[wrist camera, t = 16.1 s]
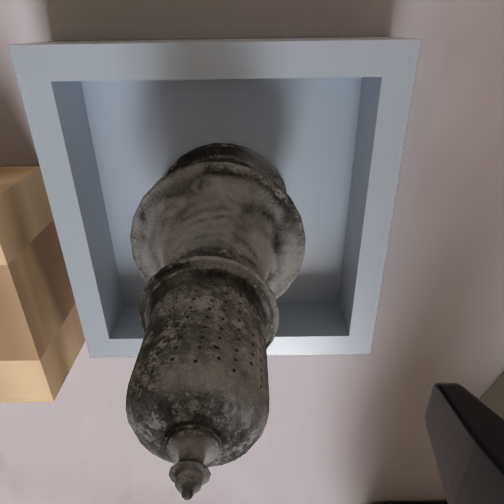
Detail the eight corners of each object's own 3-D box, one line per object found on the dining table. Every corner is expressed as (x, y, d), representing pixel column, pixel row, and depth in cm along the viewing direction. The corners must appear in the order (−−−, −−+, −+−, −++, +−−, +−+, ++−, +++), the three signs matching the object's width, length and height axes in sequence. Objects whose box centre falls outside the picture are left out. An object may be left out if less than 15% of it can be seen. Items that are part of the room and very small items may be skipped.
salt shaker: (235, 102, 15) (210, 278, 5) (322, 219, 17) (437, 516, 7) (120, 194, 17) (-90, 479, 6) (213, 290, 19) (173, 617, 9)
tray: (390, 36, 15) (421, 39, 12) (354, 311, 20) (370, 353, 18) (51, 41, 15) (8, 45, 12) (110, 314, 21) (89, 357, 18)
